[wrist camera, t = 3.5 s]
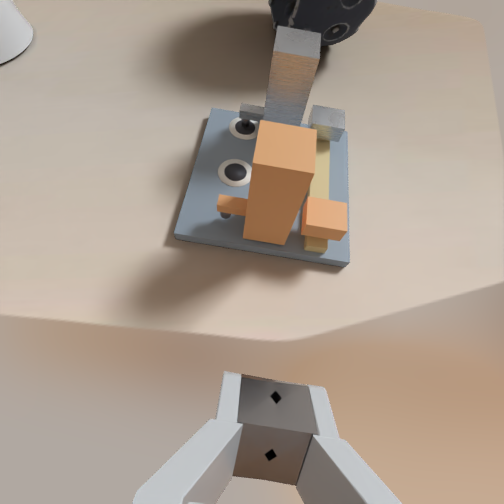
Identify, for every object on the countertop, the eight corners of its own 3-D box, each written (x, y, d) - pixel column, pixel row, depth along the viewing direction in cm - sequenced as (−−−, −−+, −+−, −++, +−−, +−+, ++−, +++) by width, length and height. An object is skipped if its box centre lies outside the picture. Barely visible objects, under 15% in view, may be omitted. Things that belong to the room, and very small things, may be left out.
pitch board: (175, 239, 28) (172, 227, 26) (212, 116, 36) (211, 100, 34) (344, 267, 28) (354, 258, 26) (343, 139, 36) (350, 124, 34)
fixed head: (236, 138, 33) (241, 44, 24) (241, 115, 34) (248, 20, 26) (333, 155, 33) (374, 69, 24) (333, 132, 35) (372, 42, 26)
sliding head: (214, 233, 27) (210, 155, 18) (222, 199, 28) (222, 113, 20) (333, 253, 27) (388, 186, 18) (333, 218, 29) (384, 141, 20)
